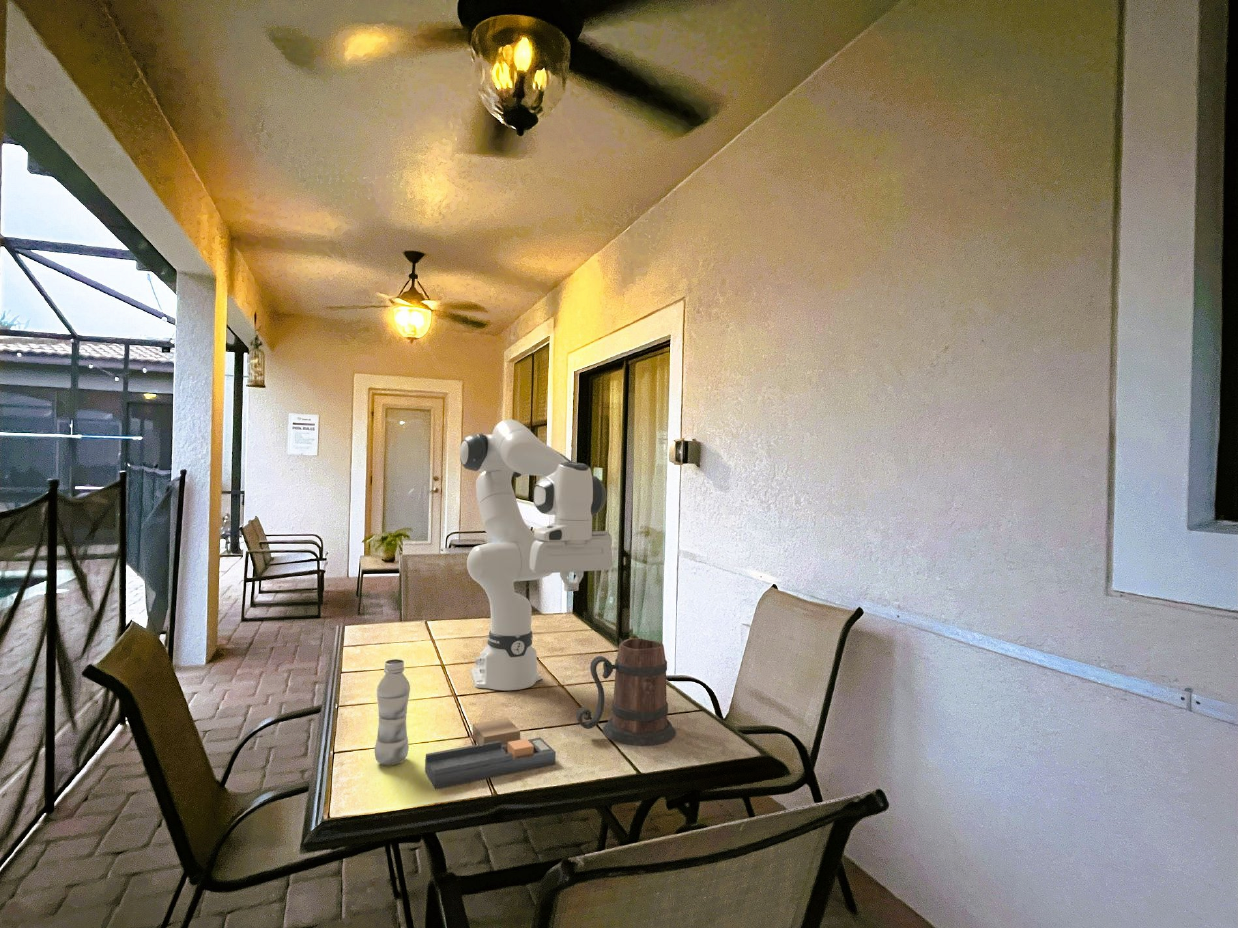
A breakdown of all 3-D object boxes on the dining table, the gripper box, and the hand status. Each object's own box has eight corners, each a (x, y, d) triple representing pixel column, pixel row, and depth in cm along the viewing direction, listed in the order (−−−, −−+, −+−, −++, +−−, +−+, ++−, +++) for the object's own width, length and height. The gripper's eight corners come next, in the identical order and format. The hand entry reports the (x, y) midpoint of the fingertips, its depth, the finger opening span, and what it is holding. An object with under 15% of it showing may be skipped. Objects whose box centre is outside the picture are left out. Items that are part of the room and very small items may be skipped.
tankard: (656, 713, 162) (658, 632, 162) (689, 740, 146) (691, 650, 147) (565, 725, 153) (567, 638, 153) (589, 754, 138) (592, 658, 138)
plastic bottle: (412, 754, 135) (415, 657, 135) (402, 769, 128) (405, 666, 128) (380, 754, 135) (383, 656, 135) (369, 769, 128) (372, 666, 128)
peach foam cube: (507, 741, 133) (526, 738, 135) (507, 761, 133) (525, 758, 135) (514, 749, 130) (533, 745, 132) (514, 769, 130) (533, 765, 132)
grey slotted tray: (424, 771, 128) (425, 753, 128) (540, 749, 140) (540, 732, 140) (434, 789, 121) (435, 770, 121) (555, 764, 133) (555, 746, 133)
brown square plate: (472, 737, 145) (472, 723, 145) (507, 731, 149) (507, 717, 149) (483, 751, 138) (484, 736, 138) (519, 744, 142) (520, 730, 142)
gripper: (605, 529, 162) (604, 585, 162) (527, 531, 152) (525, 591, 152) (618, 531, 157) (616, 590, 156) (538, 533, 147) (536, 595, 146)
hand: (571, 590), depth 154 cm, fingers closed
